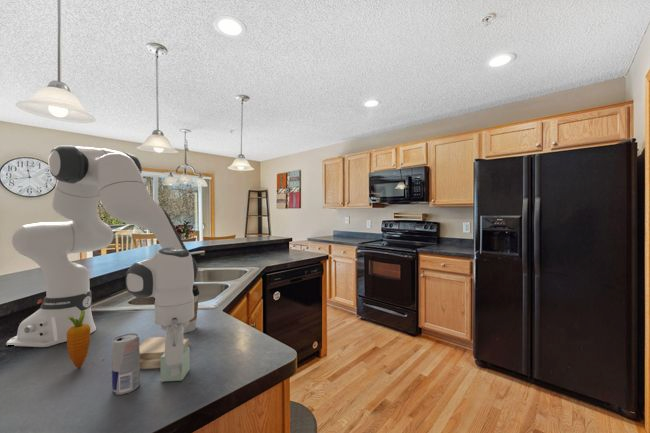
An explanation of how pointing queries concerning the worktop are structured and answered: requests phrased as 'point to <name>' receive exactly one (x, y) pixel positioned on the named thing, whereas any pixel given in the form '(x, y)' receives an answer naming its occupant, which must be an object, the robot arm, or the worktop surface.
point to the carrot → (78, 340)
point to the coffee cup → (192, 322)
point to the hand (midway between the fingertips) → (175, 366)
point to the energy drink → (125, 364)
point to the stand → (153, 352)
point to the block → (182, 368)
